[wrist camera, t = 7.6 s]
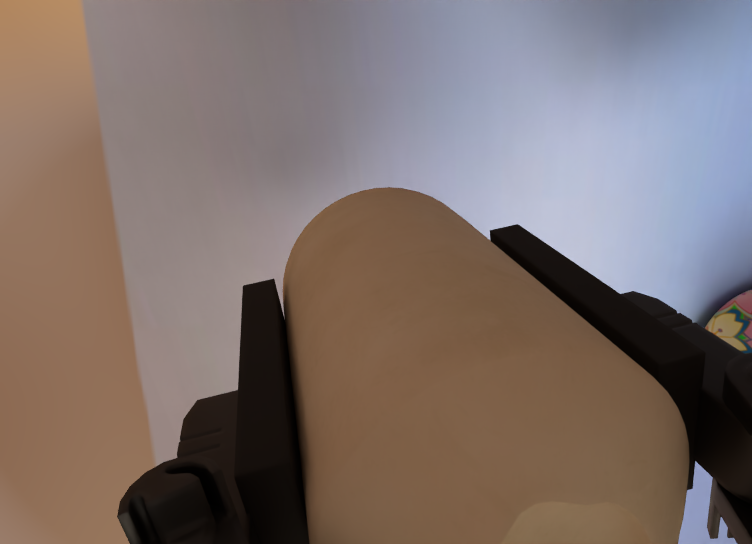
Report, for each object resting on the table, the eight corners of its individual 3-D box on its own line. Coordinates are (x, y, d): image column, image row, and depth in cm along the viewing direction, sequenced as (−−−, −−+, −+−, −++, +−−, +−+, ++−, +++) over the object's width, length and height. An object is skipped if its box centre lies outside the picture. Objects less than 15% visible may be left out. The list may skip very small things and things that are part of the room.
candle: (510, 229, 16) (866, 487, 7) (423, 389, 17) (614, 782, 8) (331, 150, 14) (479, 352, 5) (250, 335, 15) (244, 766, 6)
